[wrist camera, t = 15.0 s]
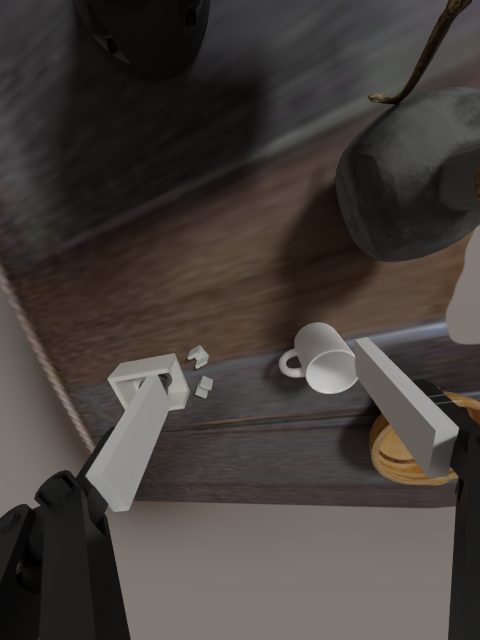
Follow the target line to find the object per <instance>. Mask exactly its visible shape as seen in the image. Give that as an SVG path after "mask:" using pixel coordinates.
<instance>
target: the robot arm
mask: <svg viewBox="0 0 480 640" xmlns="http://www.w3.org/2000/svg"><path fill="white" fill-rule="evenodd" d="M73 1H74V4H75V6H76V8H77V11H78V13H79V15H80V17H81V19H82V21H83V22H84V24H85V26H86V27H87V29H88V31H89V32H90V34H91V35H92V37H93V38H94V40H95V41H96V42H97V43H98V45H99V46H100V47H101V48H102V49H103V50H104V52H105V53H106V54H107V55H108V56H109V57H110V58H111V60H113V61H114V62H115V63H116V64H117V65H118V66H119V67H120V68H122V69H123V70H125V71H126V72H128V73H130V74H131V75H134V76H136V77H139V78H142V79H147V80H160V79H165V78H168V77H171V76H173V75H175V74H176V73H178V72H179V71H181V70H182V69H183V68H184V67H185V66H186V65H187V64H188V63H189V62H190V61H191V59H192V58H193V57H194V55H195V54H196V52H197V50H198V48H199V46H200V44H201V42H202V39H203V36H204V33H205V30H206V26H207V21H208V15H209V7H210V0H73ZM355 371H356V376H357V378H358V379H359V380H360V382H361V383H362V385H363V386H364V388H365V389H366V391H367V392H368V393H369V395H370V396H371V398H372V399H373V401H374V402H375V403H376V405H377V406H378V408H379V409H380V411H381V412H382V414H383V415H384V416H385V418H386V419H387V421H388V422H389V424H390V425H391V426H392V428H393V429H394V431H395V432H396V434H397V435H398V437H399V438H400V439H401V441H402V442H403V444H404V445H405V447H406V448H407V449H408V451H409V452H410V454H411V455H412V457H413V458H414V460H415V461H416V462H417V464H418V465H419V467H420V468H421V470H422V471H423V472H424V474H425V475H426V477H427V478H436V477H446V476H448V474H449V470H450V467H451V468H452V469H453V471H454V472H455V473H456V474H457V475H458V477H459V478H458V482H457V485H456V489H455V493H456V494H457V499H456V516H455V533H454V550H453V566H452V582H451V601H450V616H449V632H448V640H480V425H479V424H478V423H477V422H476V421H475V420H473V419H472V418H471V417H470V416H469V415H468V414H467V413H466V412H464V411H463V410H462V409H461V408H460V407H459V406H458V405H457V404H455V403H454V402H452V400H451V399H450V398H449V397H448V396H446V395H445V394H444V393H443V392H442V391H441V390H440V389H439V388H437V387H436V386H435V385H433V384H431V383H429V382H427V381H426V380H424V379H420V380H413V381H411V380H410V379H409V378H408V377H407V376H406V375H405V374H404V373H403V372H402V371H401V370H400V369H399V368H398V367H397V366H396V365H395V364H394V363H393V362H392V361H391V360H390V359H389V358H388V357H387V356H386V355H385V354H384V353H383V352H382V351H381V350H380V349H379V348H378V347H377V346H376V345H375V344H374V343H373V342H372V341H371V340H370V339H369V338H368V337H367V338H361V339H355ZM170 406H171V403H170V401H169V398H168V396H167V394H166V392H165V390H164V388H163V385H162V383H161V381H160V379H159V377H158V374H157V375H151V376H147V377H146V379H145V380H144V382H143V384H142V385H141V387H140V389H139V390H138V392H137V393H136V395H135V397H134V398H133V400H132V401H131V403H130V405H129V406H128V408H127V409H126V411H125V413H124V414H123V416H122V418H121V419H120V421H119V422H118V424H117V426H116V427H112V428H110V429H109V430H108V431H107V432H106V433H105V434H104V435H103V437H102V439H101V440H100V442H99V443H98V446H96V448H95V449H94V451H93V454H91V455H90V457H89V458H88V460H87V462H86V463H85V465H84V466H83V468H82V469H81V471H80V472H79V474H78V475H77V477H76V478H75V477H74V476H73V475H72V474H71V473H70V471H67V470H64V471H60V472H58V473H56V474H54V475H53V476H52V477H50V478H49V479H47V480H46V481H45V482H44V483H43V484H42V486H41V487H40V488H39V489H38V491H37V492H36V495H35V498H34V499H35V500H36V501H37V502H38V503H39V504H40V505H41V506H39V507H37V508H34V509H31V508H30V507H29V506H28V505H27V504H21V505H18V506H16V507H14V508H13V509H11V510H10V511H8V512H7V513H6V514H5V515H3V516H2V517H1V518H0V640H38V639H39V640H131V639H130V634H129V629H128V624H127V618H126V613H125V608H124V603H123V598H122V593H121V587H120V582H119V577H118V572H117V566H116V561H115V556H114V551H113V546H112V541H111V535H110V530H109V526H108V520H107V517H106V515H105V514H104V512H105V511H106V509H107V507H108V505H109V506H110V508H111V509H112V510H113V511H114V512H118V511H128V510H129V509H130V506H131V504H132V501H133V499H134V496H135V494H136V491H137V489H138V486H139V484H140V481H141V479H142V476H143V474H144V471H145V469H146V466H147V464H148V461H149V459H150V456H151V454H152V451H153V449H154V446H155V444H156V441H157V439H158V436H159V434H160V431H161V429H162V426H163V424H164V421H165V419H166V416H167V414H168V411H169V408H170ZM18 564H19V566H18ZM17 567H18V569H17Z"/></svg>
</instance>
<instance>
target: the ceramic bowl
mask: <svg viewBox="0 0 480 640" xmlns="http://www.w3.org/2000/svg"><path fill="white" fill-rule="evenodd" d="M437 388H438V387H437ZM442 392H443V393H444V394H445V395H446V396H448V397H449V398H450V399H451V400H452V402H454V403H455V404H457V405H458V406H459V407H460V408H461V409H462V410H463V411H464V412H466V413H467V414H468V415H469V416H470V417H471V418H472V419H473V420H475V421H476V422H477V423H478V424H479V425H480V402H478V401H476V400H474V399H472V398H470V397H467V396H464V395H461V394H457V393H452V392H445V391H442ZM369 448H370V453H371V459H372V463H373V465H374V467H375V469H376V470H377V471H378V472H379V473H380V474H381V475H383V476H384V477H386V478H388V479H390V480H392V481H395V482H398V483H402V484H409V485H428V484H429V485H441V484H444V483H446V482H448V481H449V480H452V479H455V478H458V475H457V474H456V473H455V472H454V471H453V469H452V468H451V467H450V470H449V474H448V476H446V477H436V478H427V477H426V475H425V474H424V472H423V471H422V470H421V468H420V467H419V465H418V464H417V462H416V461H415V460H414V458H413V457H412V455H411V454H410V452H409V451H408V449H407V448H406V447H405V445H404V444H403V442H402V441H401V439H400V438H399V437H398V435H397V434H396V432H395V431H394V429H393V428H392V426H391V425H390V424H389V422H388V421H387V419H386V418H385V416H384V415H383V414H382V412H381V413H380V415H379V416H378V417H377V418H376V420H375V422H374V423H373V425H372V428H371V431H370V434H369Z"/></svg>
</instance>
